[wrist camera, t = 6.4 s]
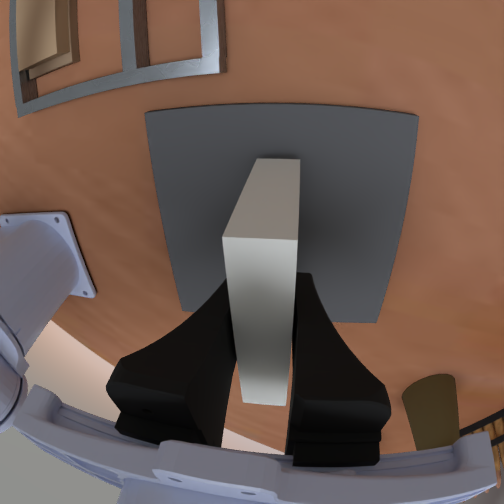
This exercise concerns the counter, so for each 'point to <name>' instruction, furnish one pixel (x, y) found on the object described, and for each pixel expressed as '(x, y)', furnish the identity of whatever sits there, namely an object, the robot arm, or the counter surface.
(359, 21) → the counter surface
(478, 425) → the ammunition clip
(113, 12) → the counter surface
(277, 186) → the gray rectangular block
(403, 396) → the olive pawn
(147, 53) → the rack
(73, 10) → the offcut stack
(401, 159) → the mat
